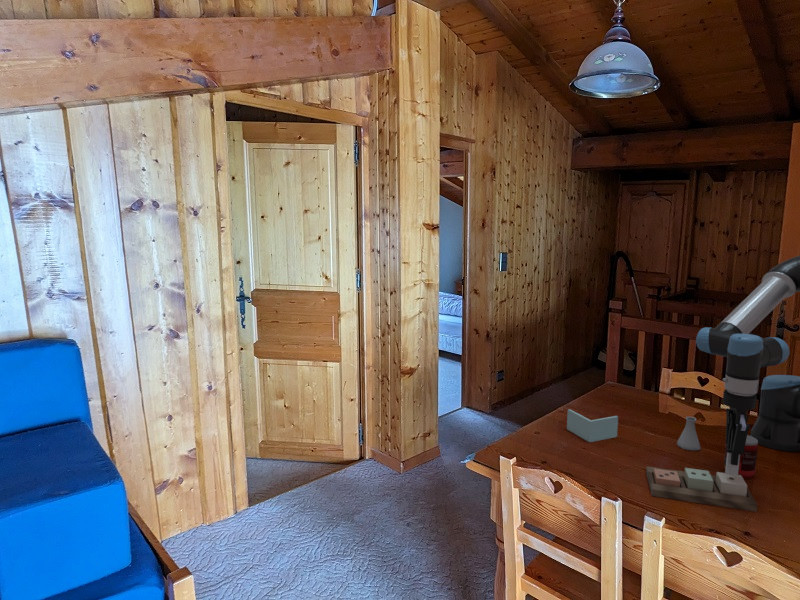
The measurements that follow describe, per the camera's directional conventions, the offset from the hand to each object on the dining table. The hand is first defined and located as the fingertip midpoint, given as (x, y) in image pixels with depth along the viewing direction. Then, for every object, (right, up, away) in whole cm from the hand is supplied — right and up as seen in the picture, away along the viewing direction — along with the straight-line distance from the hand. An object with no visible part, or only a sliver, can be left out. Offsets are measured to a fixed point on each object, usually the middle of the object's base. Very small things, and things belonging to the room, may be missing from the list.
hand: (731, 473), depth 143 cm
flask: (+6, -2, +32) cm, 32 cm away
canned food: (+11, -4, +14) cm, 19 cm away
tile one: (0, -5, +1) cm, 5 cm away
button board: (-7, -6, +4) cm, 10 cm away
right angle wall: (-23, 0, +43) cm, 49 cm away
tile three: (-15, -5, +6) cm, 17 cm away
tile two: (-7, -4, +4) cm, 9 cm away
